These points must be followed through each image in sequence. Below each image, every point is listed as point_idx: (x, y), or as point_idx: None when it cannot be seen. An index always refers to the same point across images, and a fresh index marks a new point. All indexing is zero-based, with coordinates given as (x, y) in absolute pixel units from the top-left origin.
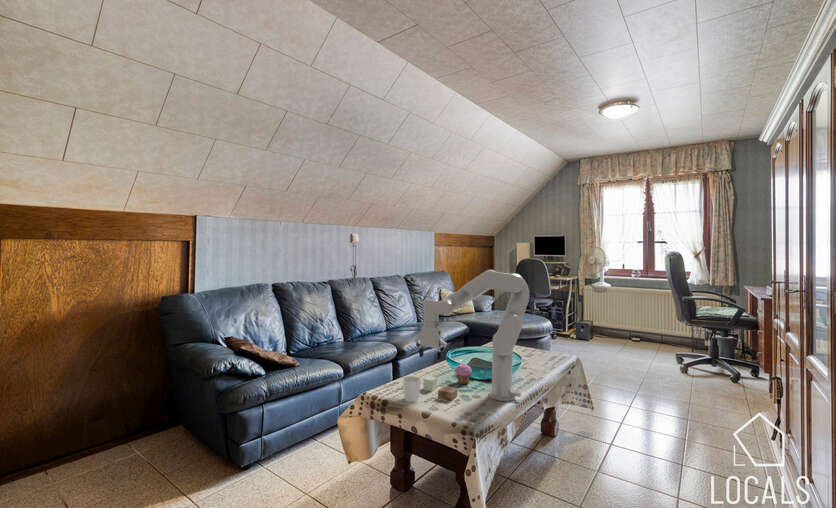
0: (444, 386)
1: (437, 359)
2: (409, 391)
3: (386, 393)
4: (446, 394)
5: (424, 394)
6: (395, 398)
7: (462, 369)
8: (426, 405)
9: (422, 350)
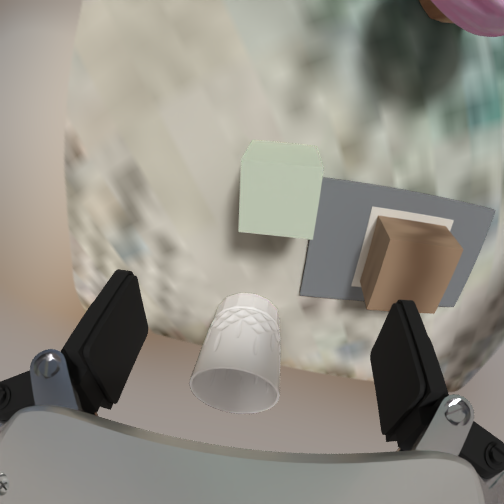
0: (395, 250)
1: (374, 359)
2: (246, 376)
3: None
4: None
5: (275, 241)
6: (180, 316)
7: (500, 22)
8: (323, 336)
9: (109, 361)
